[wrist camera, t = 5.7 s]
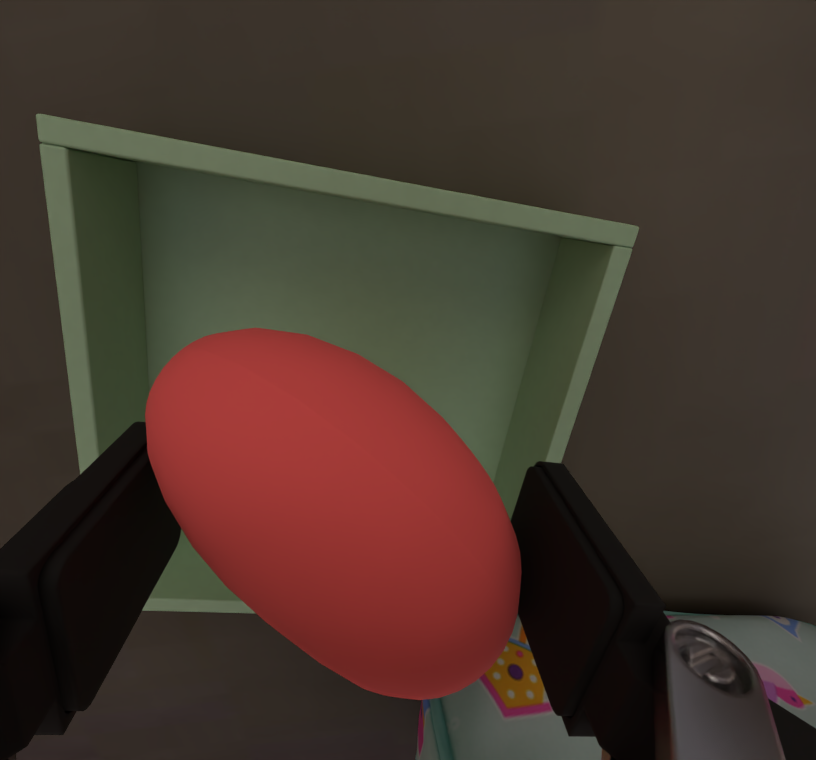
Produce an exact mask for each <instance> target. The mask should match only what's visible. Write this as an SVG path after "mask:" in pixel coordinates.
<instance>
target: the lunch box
mask: <svg viewBox="0 0 816 760" xmlns="http://www.w3.org/2000/svg"><path fill="white" fill-rule="evenodd" d="M663 612H664V614H665V615H666V617H667V618H668V619H669V621H670V622H671V621H675V620H679V619H683V620H691V621H695V622H698V623H700V624H703V625H706V626H708V627H710V628H711V629H713V630H715V631H717V632H719V633H721V634H722V635H723V636H725V637H726V638H727V639H729V640H730V641H731V642H733V643H734V644H735V645H736V646H737V647H738V648H739V649H740V650H741V651H742V652H743V653H744V654H745V655H746V656H747V657H748V658H749V659H750V661H751V662H752V663H753V665H754V666H755V667H756V669H757V670H758V672H759V675H760V677H761V679H762V681H763V684H764V687H765V690H766V694H767V697H768V698H769V699H770V700H772V701H773V702H775V703H777V704H778V705H780V706H781V707H783V708H784V709H786V710H788V711H789V712H791V713H792V714H794V715H796V716H797V717H799V718H800V719H802V720H803V721H805V722H807V723H808V724H810V725H811V726H813V727H815V728H816V626H814V625H811V624H809V623H805V622H802V621H798V620H794V619H791V618H785V617H779V616H752V615H711V614H694V613H682V612H671V611H663ZM601 755H602V748H601V747H600V746H599V744H598V742H597V739H596V737H569V736H568V733H567V730H566V728H565V725H564V722H563V720H562V717H561V716H557V715H556V714H555V713H554V711H553V710H552V707H551V705H550V702H549V699H548V697H547V694H546V691H545V688H544V685H543V683H542V680H541V677H540V674H539V671H538V669H537V666H536V663H535V660H534V657H533V654H532V652H531V649H530V646H529V643H528V640H527V638H526V635H525V632H524V629H523V626H522V624H521V621H520V618H519V615H518V614H517V618H516V622H515V625H514V629H513V632H512V634H511V636H510V638H509V640H508V643H507V645H506V647H505V649H504V651H503V652H502V653H501V655H500V656H499V657H498V659H497V660H496V661H495V663H494V664H493V665H492V667H491V668H490V669H489V670H488V671H486V672H485V673H484V674H483V675H482V676H481V677H480V678H479V679H478V680H476V681H475V682H473V683H472V684H470V685H468V686H467V687H465V688H463V689H462V690H460V691H458V692H455V693H452V694H449V695H446V696H443V697H440V698H433V699H424V700H422V702H421V708H420V713H419V723H418V741H417V753H416V758H415V760H601Z"/></svg>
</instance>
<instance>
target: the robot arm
mask: <svg viewBox="0 0 816 760" xmlns="http://www.w3.org/2000/svg"><path fill="white" fill-rule="evenodd" d="M511 524H512V526H513V529H514V531H515V534H516V538H517V541H518V545H519V549H520V556H521V570H522V574H521V586H520V597H519V606H518V615H519V618H520V621H521V624H522V626H523V629H524V632H525V635H526V638H527V640H528V643H529V646H530V649H531V652H532V654H533V657H534V660H535V663H536V666H537V669H538V671H539V674H540V677H541V680H542V683H543V685H544V688H545V691H546V694H547V697H548V699H549V702H550V705H551V707H552V710H553V711H554V713H555V714H556V715H557V716H561V717H562V720H563V722H564V725H565V728H566V730H567V733H568V736H569V737H596V739H597V742H598V744H599V746H600V747H601V748H602V755H601V760H816V728H815V727H813V726H811V725H810V724H808V723H807V722H805V721H803V720H802V719H800V718H799V717H797V716H796V715H794V714H792V713H791V712H789V711H788V710H786V709H784V708H783V707H781V706H780V705H778V704H777V703H775V702H773V701H772V700H770V699H769V698H768V697H767V694H766V690H765V687H764V684H763V681H762V679H761V677H760V675H759V672H758V670H757V669H756V667H755V666H754V665H753V663H752V662H751V661H750V659H749V658H748V657H747V656H746V655H745V654H744V653H743V652H742V651H741V650H740V649H739V648H738V647H737V646H736V645H735V644H734V643H733V642H731V641H730V640H729V639H727V638H726V637H725V636H723V635H722V634H721V633H719V632H717V631H715V630H713V629H711V628H710V627H708V626H706V625H703V624H700V623H698V622H695V621H691V620H683V619H679V620H675V621H671V622H670V621H669V619H668V618H667V617H666V615H665V614H664V612H663V611H664V609H665V607H666V605H665V604H664V602H663V601H662V600H661V598H660V597H659V596H658V594H657V593H656V591H655V590H654V589H653V587H652V586H651V585H650V583H649V582H648V580H647V579H646V578H645V576H644V575H643V573H642V572H641V571H640V569H639V568H638V567H637V565H636V564H635V562H634V561H633V560H632V558H631V557H630V556H629V554H628V553H627V551H626V550H625V549H624V547H623V546H622V544H621V543H620V542H619V540H618V539H617V538H616V536H615V535H614V533H613V532H612V531H611V529H610V528H609V527H608V525H607V524H606V522H605V521H604V520H603V518H602V517H601V515H600V514H599V513H598V511H597V510H596V509H595V507H594V506H593V504H592V503H591V502H590V500H589V499H588V497H587V496H586V495H585V493H584V492H583V491H582V489H581V488H580V486H579V485H578V484H577V482H576V481H575V480H574V478H573V477H572V475H571V474H570V473H569V471H568V470H567V468H566V467H565V466H564V465H563V464H561V463H553V462H543V461H538V462H536V464H535V465H534V467H533V466H530V467H529V468H528V469H527V471H526V474H525V477H524V480H523V484H522V487H521V490H520V493H519V496H518V499H517V502H516V505H515V508H514V512H513V515H512V518H511ZM180 534H181V527H180V525H179V524H178V522H177V520H176V519H175V517H174V515H173V514H172V512H171V510H170V509H169V507H168V505H167V504H166V502H165V500H164V498H163V495H162V492H161V490H160V487H159V485H158V482H157V479H156V477H155V474H154V471H153V469H152V466H151V463H150V460H149V456H148V451H147V435H146V422H139V421H138V422H135V423H133V424H132V425H131V426H130V427H129V428H128V429H127V430H126V431H125V432H124V433H123V434H122V435H121V436H120V437H119V438H118V439H116V440H115V441H114V442H113V443H112V444H111V445H110V446H109V447H108V448H107V449H106V450H105V451H104V452H103V453H102V454H101V455H100V456H99V457H98V458H97V459H96V460H95V461H94V462H93V463H92V464H91V465H90V466H89V467H88V468H87V469H85V470H84V471H83V472H82V473H81V474H80V475H79V476H78V477H77V478H76V479H75V480H74V481H72V482H71V483H69V484H68V485H67V486H65V487H64V488H63V489H62V490H61V491H60V492H59V493H58V494H57V495H56V496H55V497H54V498H53V499H52V500H51V501H50V502H49V503H48V504H47V505H46V506H45V507H44V508H42V509H41V510H40V511H39V512H38V513H37V514H36V515H35V516H34V517H33V518H32V519H31V520H30V521H29V522H28V523H27V524H26V525H25V526H24V527H23V528H22V529H21V530H20V531H19V532H18V533H16V534H15V535H14V536H13V537H12V538H11V539H10V540H9V541H8V542H7V543H6V544H5V545H4V546H3V547H2V548H1V549H0V760H16V753H17V752H19V751H20V750H22V749H23V748H25V747H27V746H28V744H29V742H30V741H31V739H32V738H33V736H34V735H63V734H64V732H65V731H66V729H67V727H68V725H69V724H70V722H71V720H72V718H73V717H74V715H75V713H76V711H84V710H86V709H87V708H88V707H89V705H90V704H91V703H92V701H93V699H94V698H95V696H96V694H97V692H98V690H99V688H100V687H101V685H102V683H103V681H104V679H105V677H106V676H107V674H108V672H109V670H110V668H111V666H112V665H113V663H114V661H115V659H116V657H117V655H118V654H119V652H120V650H121V648H122V646H123V644H124V643H125V641H126V639H127V637H128V635H129V633H130V632H131V630H132V628H133V626H134V624H135V622H136V621H137V619H138V617H139V615H140V613H141V611H142V610H143V608H144V606H145V604H146V602H147V600H148V599H149V597H150V595H151V593H152V591H153V589H154V588H155V586H156V584H157V582H158V580H159V578H160V577H161V575H162V573H163V571H164V569H165V567H166V566H167V564H168V562H169V560H170V558H171V556H172V555H173V553H174V551H175V549H176V547H177V545H178V542H179V539H180Z"/></svg>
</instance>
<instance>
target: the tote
mask: <svg viewBox="0 0 816 760" xmlns="http://www.w3.org/2000/svg"><path fill="white" fill-rule="evenodd" d="M36 122H37V130H38V138H39V141H40V142H42V144H40V154H41V163H42V171H43V179H44V187H45V195H46V203H47V211H48V219H49V227H50V235H51V243H52V251H53V259H54V267H55V275H56V283H57V291H58V299H59V308H60V316H61V324H62V332H63V340H64V348H65V356H66V364H67V372H68V380H69V388H70V396H71V404H72V412H73V420H74V428H75V436H76V445H77V453H78V461H79V469H80V474H81V473H82V472H83V471H84V470H85V469H87V468H88V467H89V466H90V465H91V464H92V463H93V462H94V461H95V460H96V459H97V458H98V457H99V456H100V455H101V454H102V453H103V452H104V451H105V450H106V449H107V448H108V447H109V446H110V445H111V444H112V443H113V442H114V441H115V440H116V439H118V438H119V437H120V436H121V435H122V434H123V433H124V432H125V431H126V430H127V429H128V428H129V427H130V426H131V425H132V424H133V423H135V422H138V421H139V422H146V421H145V410H146V403H147V399H148V396H149V393H150V390H151V388H152V386H153V384H154V382H155V379H156V378H157V376H158V375H159V373H160V372H161V370H162V369H163V367H164V366H165V365H166V364H167V363H168V362H169V361H170V360H171V358H172V357H173V356H175V355H176V354H177V353H178V352H179V351H180V350H182V349H183V348H184V347H186V346H187V345H189V344H190V343H192V342H194V341H196V340H198V339H200V338H202V337H204V336H208V335H212V334H215V333H222V332H228V331H235V330H241V329H249V328H263V329H271V330H278V331H285V332H292V333H299V334H307V335H309V336H312V337H315V338H317V339H320V340H322V341H325V342H328V343H330V344H333V345H336V346H338V347H341V348H343V349H346V350H349V351H351V352H354V353H357V354H359V355H360V356H362V357H364V358H365V359H367V360H369V361H370V362H372V363H373V364H375V365H377V366H378V367H380V368H382V369H383V370H385V371H387V372H388V373H390V374H391V375H393V376H395V377H396V378H398V379H400V380H401V381H403V382H404V383H405V384H406V385H407V386H408V387H410V388H411V389H412V390H413V391H414V392H415V393H416V394H417V395H418V396H420V397H421V398H422V399H423V400H424V401H425V402H426V403H427V404H428V405H430V406H431V407H432V408H433V409H434V410H435V411H436V412H437V413H438V414H440V415H441V416H442V417H443V418H444V420H445V421H446V422H447V423H448V424H449V425H450V426H451V427H452V429H453V430H454V431H455V432H456V433H457V434H458V436H459V437H460V438H461V439H462V440H463V442H464V443H465V444H466V445H467V446H468V448H469V449H470V450H471V452H472V453H473V454H474V455H475V457H476V458H477V459H478V461H479V462H480V464H481V465H482V466H483V468H484V469H485V471H486V472H487V474H488V475H489V477H490V478H491V480H492V482H493V483H494V485H495V487H496V489H497V491H498V493H499V495H500V497H501V499H502V502H503V504H504V506H505V509H506V511H507V514H508V516H509V519H510V521H511V518H512V515H513V512H514V508H515V505H516V502H517V499H518V496H519V493H520V490H521V487H522V484H523V480H524V477H525V474H526V471H527V469H528V468H529V467H530V466H533V467H534V465H535V464H536V462H538V461H543V462H553V463H561V461H562V458H563V455H564V452H565V449H566V446H567V443H568V440H569V437H570V434H571V431H572V428H573V425H574V422H575V419H576V416H577V413H578V411H579V408H580V405H581V402H582V399H583V396H584V393H585V390H586V387H587V384H588V381H589V378H590V375H591V372H592V369H593V366H594V363H595V360H596V357H597V354H598V351H599V348H600V345H601V342H602V339H603V336H604V333H605V330H606V327H607V324H608V321H609V318H610V315H611V312H612V309H613V306H614V303H615V300H616V297H617V294H618V291H619V288H620V285H621V282H622V280H623V277H624V274H625V271H626V268H627V265H628V262H629V259H630V256H631V253H632V249H631V248H632V247H633V246H634V243H635V240H636V237H637V234H638V231H639V227H638V226H634V225H629V224H624V223H618V222H613V221H608V220H602V219H597V218H592V217H586V216H581V215H576V214H571V213H565V212H560V211H555V210H549V209H544V208H539V207H533V206H528V205H523V204H517V203H512V202H507V201H501V200H496V199H491V198H485V197H480V196H475V195H470V194H464V193H459V192H454V191H448V190H443V189H438V188H432V187H427V186H422V185H416V184H411V183H406V182H400V181H395V180H390V179H384V178H379V177H374V176H369V175H363V174H358V173H353V172H347V171H342V170H337V169H331V168H326V167H321V166H315V165H310V164H305V163H299V162H294V161H289V160H283V159H278V158H273V157H268V156H262V155H257V154H252V153H246V152H241V151H236V150H230V149H225V148H220V147H214V146H209V145H204V144H198V143H193V142H188V141H182V140H177V139H172V138H167V137H161V136H156V135H151V134H145V133H140V132H135V131H129V130H124V129H119V128H113V127H108V126H103V125H97V124H92V123H87V122H81V121H76V120H71V119H66V118H60V117H55V116H50V115H44V114H36ZM143 610H145V611H183V612H221V613H255V612H254V611H253V610H252V609H251V608H250V607H248V606H247V605H246V604H245V603H244V602H243V601H242V600H241V599H240V598H238V597H237V596H236V595H235V594H234V593H233V592H232V591H231V590H229V589H228V588H227V587H226V586H225V585H224V583H223V582H222V581H221V580H220V579H219V577H218V576H217V575H216V574H215V573H214V572H213V570H212V569H211V568H210V567H209V566H208V564H207V563H206V562H205V561H204V560H203V559H202V557H201V556H200V555H199V554H198V553H197V551H196V550H195V549H194V548H193V547H192V545H191V543H190V542H189V540H188V538H187V537H186V535H185V534H184V532H183V530H182V529H181V534H180V539H179V542H178V545H177V547H176V549H175V551H174V553H173V555H172V556H171V558H170V560H169V562H168V564H167V566H166V567H165V569H164V571H163V573H162V575H161V577H160V578H159V580H158V582H157V584H156V586H155V588H154V589H153V591H152V593H151V595H150V597H149V599H148V600H147V602H146V604H145V606H144V608H143Z"/></svg>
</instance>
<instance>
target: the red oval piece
mask: <svg viewBox="0 0 816 760" xmlns="http://www.w3.org/2000/svg"><path fill="white" fill-rule="evenodd" d="M145 421H146V435H147V451H148V456H149V460H150V463H151V466H152V469H153V471H154V474H155V477H156V479H157V482H158V485H159V487H160V490H161V492H162V495H163V498H164V500H165V502H166V504H167V505H168V507H169V509H170V510H171V512H172V514H173V515H174V517H175V519H176V520H177V522H178V524H179V525H180V527H181V529H182V530H183V532H184V534H185V535H186V537H187V538H188V540H189V542H190V543H191V545H192V547H193V548H194V549H195V550H196V551H197V553H198V554H199V555H200V556H201V557H202V559H203V560H204V561H205V562H206V563H207V564H208V566H209V567H210V568H211V569H212V570H213V572H214V573H215V574H216V575H217V576H218V577H219V579H220V580H221V581H222V582H223V583H224V585H225V586H226V587H227V588H228V589H229V590H231V591H232V592H233V593H234V594H235V595H236V596H237V597H238V598H240V599H241V600H242V601H243V602H244V603H245V604H246V605H247V606H248V607H250V608H251V609H252V610H253V611H254V612H255V613H256V614H257V615H259V616H260V617H261V618H262V619H263V620H264V621H265V622H267V623H268V624H269V625H270V626H272V627H273V628H274V629H276V630H277V631H278V632H279V633H281V634H282V635H283V636H285V637H286V638H287V639H289V640H290V641H291V642H293V643H294V644H295V645H296V646H298V647H299V648H300V649H302V650H303V651H304V652H306V653H307V654H308V655H310V656H311V657H312V658H314V659H315V660H316V661H318V662H319V663H320V664H322V665H324V666H325V667H327V668H329V669H331V670H332V671H334V672H336V673H337V674H339V675H341V676H342V677H344V678H346V679H347V680H349V681H351V682H353V683H354V684H356V685H358V686H359V687H361V688H363V689H365V690H368V691H371V692H375V693H378V694H381V695H385V696H391V697H397V698H405V699H414V700H424V699H433V698H440V697H443V696H446V695H449V694H452V693H455V692H458V691H460V690H462V689H463V688H465V687H467V686H468V685H470V684H472V683H473V682H475V681H476V680H478V679H479V678H480V677H481V676H482V675H483V674H484V673H485V672H486V671H488V670H489V669H490V668H491V667H492V665H493V664H494V663H495V661H496V660H497V659H498V657H499V656H500V655H501V653H502V652H503V651H504V649H505V647H506V645H507V643H508V640H509V638H510V636H511V634H512V632H513V629H514V625H515V622H516V618H517V614H518V606H519V597H520V586H521V574H522V570H521V556H520V549H519V545H518V541H517V538H516V534H515V531H514V529H513V526H512V524H511V521H510V519H509V516H508V514H507V511H506V509H505V506H504V504H503V502H502V499H501V497H500V495H499V493H498V491H497V489H496V487H495V485H494V483H493V482H492V480H491V478H490V477H489V475H488V474H487V472H486V471H485V469H484V468H483V466H482V465H481V464H480V462H479V461H478V459H477V458H476V457H475V455H474V454H473V453H472V452H471V450H470V449H469V448H468V446H467V445H466V444H465V443H464V442H463V440H462V439H461V438H460V437H459V436H458V434H457V433H456V432H455V431H454V430H453V429H452V427H451V426H450V425H449V424H448V423H447V422H446V421H445V420H444V418H443V417H442V416H441V415H440V414H438V413H437V412H436V411H435V410H434V409H433V408H432V407H431V406H430V405H428V404H427V403H426V402H425V401H424V400H423V399H422V398H421V397H420V396H418V395H417V394H416V393H415V392H414V391H413V390H412V389H411V388H410V387H408V386H407V385H406V384H405V383H404V382H403V381H401V380H400V379H398V378H396V377H395V376H393V375H391V374H390V373H388V372H387V371H385V370H383V369H382V368H380V367H378V366H377V365H375V364H373V363H372V362H370V361H369V360H367V359H365V358H364V357H362V356H360V355H359V354H357V353H354V352H351V351H349V350H346V349H343V348H341V347H338V346H336V345H333V344H330V343H328V342H325V341H322V340H320V339H317V338H315V337H312V336H309V335H307V334H299V333H292V332H285V331H278V330H271V329H263V328H249V329H241V330H235V331H228V332H222V333H215V334H212V335H208V336H204V337H202V338H200V339H198V340H196V341H194V342H192V343H190V344H189V345H187V346H186V347H184V348H183V349H182V350H180V351H179V352H178V353H177V354H176V355H175V356H173V357H172V358H171V360H170V361H169V362H168V363H167V364H166V365H165V366H164V367H163V369H162V370H161V372H160V373H159V375H158V376H157V378H156V379H155V382H154V384H153V386H152V388H151V390H150V393H149V396H148V399H147V403H146V410H145Z"/></svg>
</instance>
